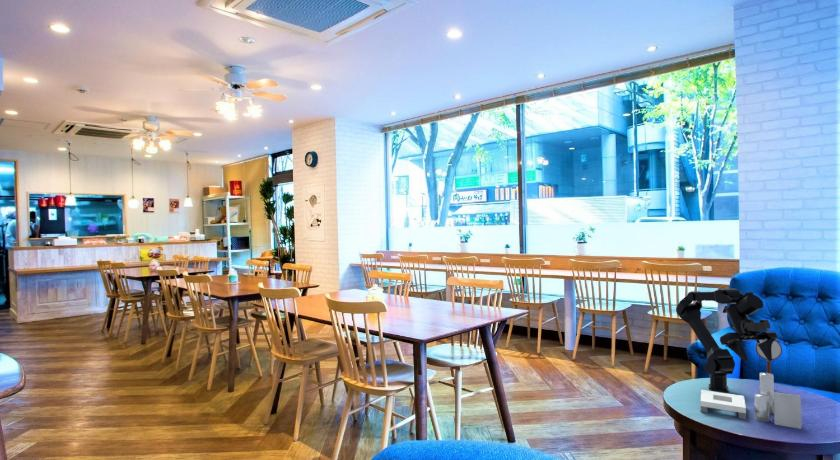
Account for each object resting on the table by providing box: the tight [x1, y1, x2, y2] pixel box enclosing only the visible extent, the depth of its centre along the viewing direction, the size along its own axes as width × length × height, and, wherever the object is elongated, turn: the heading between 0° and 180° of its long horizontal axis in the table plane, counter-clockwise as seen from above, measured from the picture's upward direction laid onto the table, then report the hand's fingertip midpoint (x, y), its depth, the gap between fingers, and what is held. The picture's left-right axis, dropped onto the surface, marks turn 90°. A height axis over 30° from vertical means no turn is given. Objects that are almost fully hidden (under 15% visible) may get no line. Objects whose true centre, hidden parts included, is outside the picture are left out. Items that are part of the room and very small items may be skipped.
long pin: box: [758, 372, 775, 415], centre depth 164 cm, size 4×4×13 cm
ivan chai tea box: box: [773, 391, 803, 430], centre depth 153 cm, size 4×7×10 cm, turn 57°
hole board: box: [700, 389, 747, 420], centre depth 167 cm, size 13×13×4 cm
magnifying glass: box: [754, 339, 783, 374], centre depth 187 cm, size 9×2×20 cm, turn 64°
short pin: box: [753, 392, 770, 423], centre depth 157 cm, size 4×4×8 cm
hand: (758, 361), depth 168 cm, fingers open, 9 cm apart
